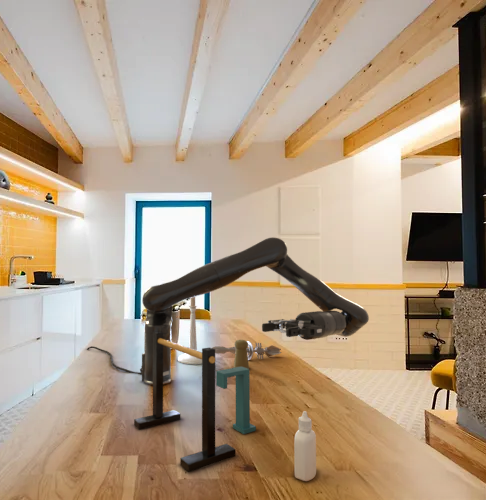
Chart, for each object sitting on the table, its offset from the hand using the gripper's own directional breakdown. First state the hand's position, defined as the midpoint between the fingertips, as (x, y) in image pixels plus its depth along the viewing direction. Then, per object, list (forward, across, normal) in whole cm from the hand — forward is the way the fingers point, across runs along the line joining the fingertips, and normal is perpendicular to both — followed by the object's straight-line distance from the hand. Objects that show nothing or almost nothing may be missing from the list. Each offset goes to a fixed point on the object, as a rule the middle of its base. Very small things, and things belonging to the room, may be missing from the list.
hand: (274, 330), depth 99 cm
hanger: (+14, 0, +23) cm, 27 cm away
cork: (-25, -42, +24) cm, 54 cm away
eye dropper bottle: (+14, +21, +24) cm, 35 cm away
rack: (+27, -4, +23) cm, 36 cm away
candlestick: (-16, -62, +23) cm, 68 cm away
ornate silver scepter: (-36, -50, +24) cm, 66 cm away
